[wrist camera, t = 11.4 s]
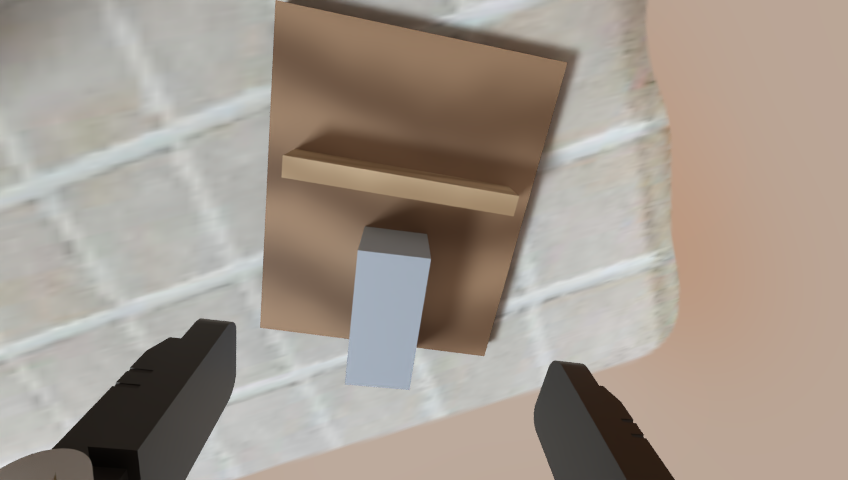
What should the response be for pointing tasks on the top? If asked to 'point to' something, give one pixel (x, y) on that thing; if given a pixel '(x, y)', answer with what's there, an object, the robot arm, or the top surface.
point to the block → (387, 307)
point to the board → (397, 167)
